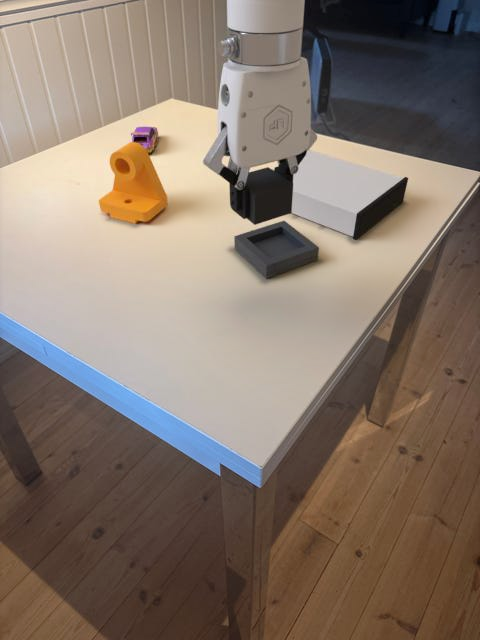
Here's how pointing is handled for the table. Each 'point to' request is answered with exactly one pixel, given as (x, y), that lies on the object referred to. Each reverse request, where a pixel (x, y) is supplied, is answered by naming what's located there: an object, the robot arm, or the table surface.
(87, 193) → the table surface
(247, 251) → the base pad
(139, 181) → the bracket
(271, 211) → the black block
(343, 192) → the disc drive
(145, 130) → the toy car
